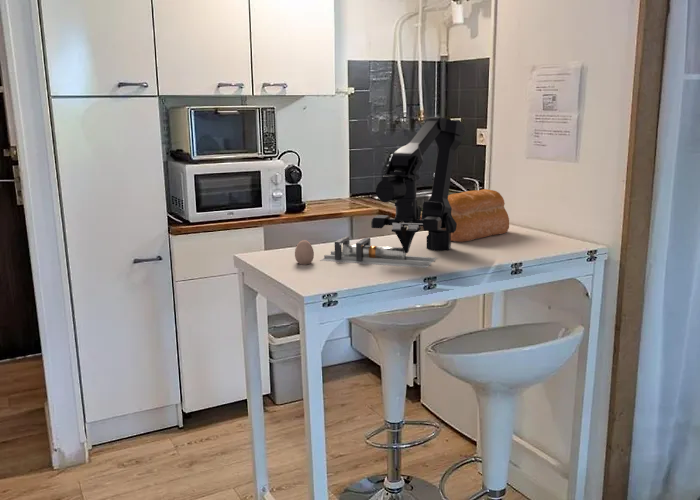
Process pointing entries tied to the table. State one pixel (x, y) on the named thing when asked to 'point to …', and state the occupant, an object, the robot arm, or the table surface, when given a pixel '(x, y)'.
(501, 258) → the table surface
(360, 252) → the dark gray arch
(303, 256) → the egg
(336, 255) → the collar
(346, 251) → the tube
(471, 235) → the bread
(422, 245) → the table surface
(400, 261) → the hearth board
